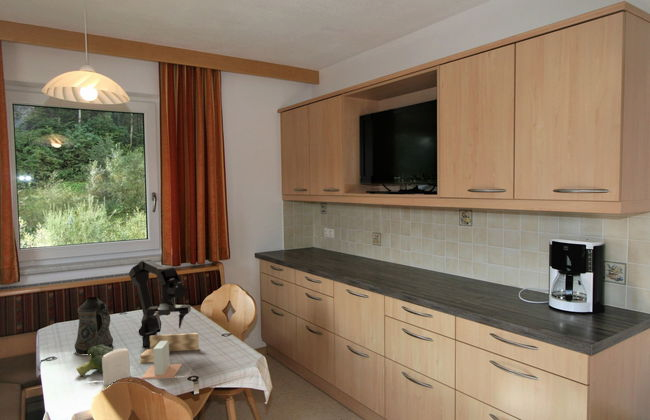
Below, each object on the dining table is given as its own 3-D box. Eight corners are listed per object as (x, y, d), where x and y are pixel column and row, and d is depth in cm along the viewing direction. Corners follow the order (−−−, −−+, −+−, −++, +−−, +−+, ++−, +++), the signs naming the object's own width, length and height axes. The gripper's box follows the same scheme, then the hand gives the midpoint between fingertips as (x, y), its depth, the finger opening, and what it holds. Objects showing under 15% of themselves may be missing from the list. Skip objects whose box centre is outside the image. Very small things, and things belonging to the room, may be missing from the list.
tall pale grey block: (154, 375, 178) (153, 348, 177) (161, 366, 186) (160, 341, 186) (163, 374, 178) (162, 348, 177) (169, 365, 187) (168, 340, 186)
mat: (141, 379, 176) (141, 377, 176) (151, 366, 188) (151, 365, 188) (174, 377, 177) (174, 375, 177) (182, 365, 189) (181, 363, 189)
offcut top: (140, 358, 192) (140, 355, 191) (146, 352, 199) (146, 349, 199) (155, 358, 192) (155, 355, 192) (161, 352, 199) (160, 349, 199)
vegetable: (77, 364, 187) (111, 343, 193) (90, 389, 183) (124, 366, 189) (66, 356, 177) (102, 334, 183) (79, 383, 172) (116, 359, 178)
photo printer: (106, 386, 170) (104, 355, 169) (101, 383, 172) (99, 353, 172) (132, 377, 178) (130, 347, 177) (127, 374, 180) (125, 345, 180)
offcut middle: (140, 362, 191) (139, 359, 191) (145, 355, 199) (145, 352, 199) (157, 361, 192) (156, 358, 192) (162, 354, 200) (161, 351, 200)
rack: (140, 364, 190) (139, 346, 190) (151, 352, 205) (150, 335, 204) (191, 362, 192) (191, 344, 191) (198, 349, 206) (198, 333, 206)
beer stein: (88, 343, 220) (85, 293, 219) (125, 342, 219) (123, 293, 217) (66, 355, 203) (63, 302, 202) (107, 355, 202) (104, 302, 201)
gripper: (141, 300, 192) (142, 335, 193) (184, 298, 193) (186, 333, 194) (149, 294, 203) (151, 327, 204) (190, 292, 204) (191, 325, 205)
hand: (169, 328), depth 201 cm, fingers open, 9 cm apart
